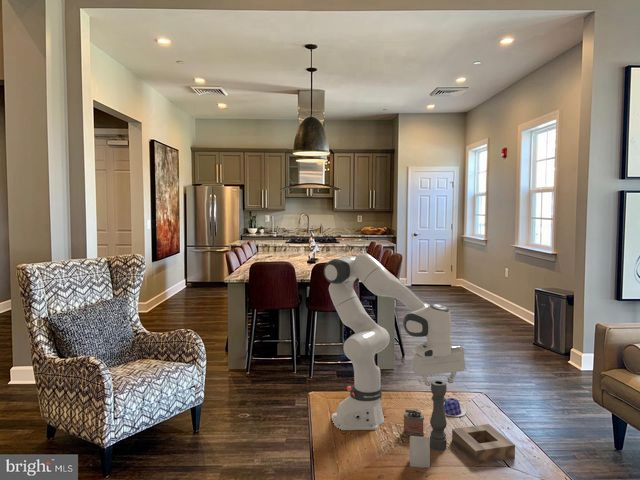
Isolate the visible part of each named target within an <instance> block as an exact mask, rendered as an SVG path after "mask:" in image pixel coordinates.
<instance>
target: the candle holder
mask: <svg viewBox="0 0 640 480" xmlns="http://www.w3.org/2000/svg"><path fill="white" fill-rule="evenodd" d="M447 383H448V382H446V381H445V380H442V379H432V380H430V391H431V394H432V397H431V401H432V402H433V404H432V405H433V409H432V412H431V416H430V418H429V419H430V420H429V424H430V426H431V429H432V430H431V431H430V435H429V438H430V449H432V450H434V451H438V452H440V451H441V452H443V451H445V450H446V449H447V446H448V445H447V443H448V442H447V437H446V436H447V434H446V433H445V429H446V428H447V426H448V425H447V423H448V422H447V417H446V415H445V414H446V413H445V412H444V403H445V400H446V399H447V398H446V397H445V395H446V394H447V390H448V389H447V388H448V387H447V385H448V384H447Z"/></svg>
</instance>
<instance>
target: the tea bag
mask: <svg viewBox="0 0 640 480" xmlns="http://www.w3.org/2000/svg"><path fill="white" fill-rule="evenodd" d="M430 459H431V447H430V436H428V437H427V436H412V435H409V467H413V468H414V467H415V468H424V467H427V469H430V468H431V460H430Z"/></svg>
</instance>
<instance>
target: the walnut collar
mask: <svg viewBox="0 0 640 480" xmlns="http://www.w3.org/2000/svg"><path fill="white" fill-rule="evenodd" d="M451 434H452V435H451V441H452V443H453V444H454V445H455V446H456V447H457V448H458V449H459V450H460V451H461V452H462V453H463V454H464V455H465V456H466V457H467V458H468V459H469V460H470V461H471V462H472V463H473V464H474V465H480V464H481V465H482V464H488V463H493V462H500V461H505V460H507V461H508V460H513V459H515V458H516V444H515V443H513V442H512V441H511V440H509V438H507V437H506V436H504V435H503V434H502V433H501V432H500V431H498V430H497V429H496V428H495V427H493V426H492V425H490V424H489V423H485V424H480V425H479V424H478V425H471V426H465V427H463V426H462V427H455V428H452V429H451Z"/></svg>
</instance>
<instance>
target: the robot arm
mask: <svg viewBox="0 0 640 480" xmlns="http://www.w3.org/2000/svg"><path fill="white" fill-rule="evenodd" d="M323 275H324V278H325V280H326V281H327V282H328V283H330V284H329V286H328V292H329V293H328V294H329V296H330V299H331V301H332V304H333V306H334V308H335V311H336V312H337V314H338V316H339V319H340V320H341V322H342V324H344V325H345V326H346V327H348V328H350V329H351V330H352V331H353V332H354V333H353V334H351V335H350V336H349V337H348V338H347V339H346V340H345V341H344V343H343V352H344V355H345V356H346V357H347V358H348V359H349V360H350V361H351V363H352V366H353V367H352V368H353V373H354V374H353V375H354V376H353V377H354V385H353V386H352V387H351V385H348V386H346V390H347V392H348V393H349V395H348V396H347V397H346V398H345V399H343V400H342V401H341V402H339V403H338V404H337V409H336V412H334V413H332V415H331V421H333V422H332V424H333V423H334V424H333V425H334V427H336V429H338V428H339V429H338V430H340V429H341V430H340V431H369V430H371V431H372V430H375V431H376V430H377V429H378V428H379V426H380V425H382V424H383V423H384V422H385V417H384V414H383V408H382V393H383V392H382V386H381V369H380V368H379V366H378V365H376V361H375V355H376V354H378V353H381V352H382V351H384V349H385V348H387V346H388V345H389V344H390V341H391V340H390V339H391V338H390V333H389V332H388V330H387V329H386V328H385V327H383V326H380V325H379V324H378V323H376V321H374V319H372V318H371V316H370V315H369V313H367V311H366V310H365V307H364V306H363V304H362V302H361V301H360V299H359V297H358V294H357V293H356V291H355V289H354V284H358V282H359V281H360V282H361V283H362V284H363V285H364V286H365V288H366V289H367V290H368V291H370V292H371V293H372V294H373V295H374V296H376V297H377V296H379V297H386V298H387V297H388V298H393V299H396V300H398V301H400V302H401V303H402V304H403V305H404V306H405V307H407V308H408V309H409V310H410V311H411V312H409V313H407V314H406V315H404V318H403V321H402V325H403V326H402V327H403V329H404V331H405V333H406V334H407V335H409V336H411V337H414V338H423V337H425V338H426V341H425V342H423V343H421V344H419V345H417V346H415V347H414V352H415V354H414V355H413V358H412V372H413V373H414V374H415V375H417V377H418V376H419V377H420V376H421V377H422V378H423V380H424V385H425V387H431V380H429V379H428V376H429V375H439V374H447V373H450V375H449V377H447V383H448V384H453V383H454V379H455V378H456V376H457V372H464V371H465V369H466V360H465V349H464V348H463V347H462V346H460V345H458V346H452V339H451V338H452V337H451V333H452V315H451V311H450V309H449V308H448V307H447V306H445V305H443V304H439V303H438V304H437V303H431V304H428V303H426V302H425V301H424V300H423V299H422V298H420V297H419V296H418V295H417V294H416V293H415V292H414V291H413V290H411V289H410V287H408V286H407V285H406V284H404V283H403V282H402V281H400V280H399V279H397V278H396V277H395V276H394V275H393V274H392V273H391V272H390V271H389V270H388V269H386V267H384V265H383V264H382V263H381V262H380V261H378V260H377V259H375V258H374V257H373V256H372V255H371V254H369V253H360V254H358V255H357V254H353V255H345V256H340V257H338V258H333V259H331V260H329V261H327V262H326V263H325V265H324V268H323Z"/></svg>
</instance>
